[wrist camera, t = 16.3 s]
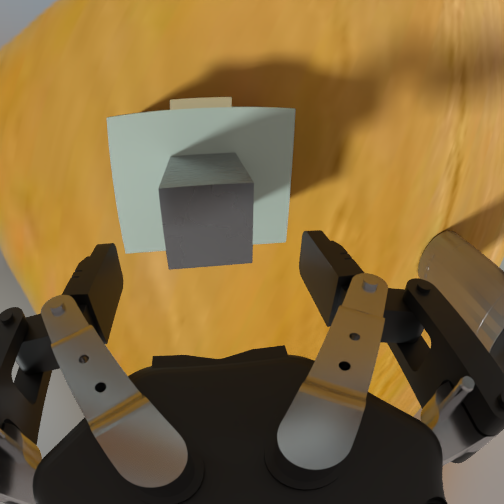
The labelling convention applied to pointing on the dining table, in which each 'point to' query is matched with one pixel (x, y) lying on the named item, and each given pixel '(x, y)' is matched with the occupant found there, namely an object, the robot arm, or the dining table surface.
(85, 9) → the dining table surface
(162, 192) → the block
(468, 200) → the dining table surface
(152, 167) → the box lid
